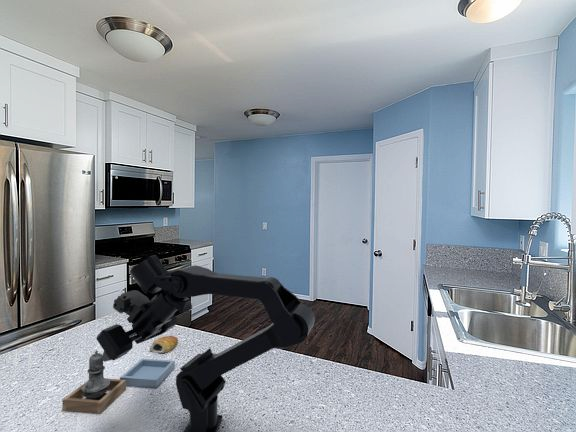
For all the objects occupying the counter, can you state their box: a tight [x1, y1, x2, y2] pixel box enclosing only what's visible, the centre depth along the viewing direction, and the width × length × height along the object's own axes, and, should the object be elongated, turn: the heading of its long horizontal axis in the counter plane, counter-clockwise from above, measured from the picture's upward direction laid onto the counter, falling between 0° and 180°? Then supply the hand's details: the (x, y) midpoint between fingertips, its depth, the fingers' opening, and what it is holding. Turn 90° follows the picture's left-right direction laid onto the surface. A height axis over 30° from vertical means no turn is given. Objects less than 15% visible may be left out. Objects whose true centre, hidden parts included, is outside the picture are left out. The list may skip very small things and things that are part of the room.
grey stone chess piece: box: [81, 350, 110, 400], centre depth 73 cm, size 6×6×12 cm
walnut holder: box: [61, 377, 127, 415], centre depth 73 cm, size 9×9×2 cm
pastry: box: [149, 335, 179, 354], centre depth 101 cm, size 9×7×4 cm
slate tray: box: [119, 358, 176, 389], centre depth 83 cm, size 10×10×2 cm
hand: (120, 350), depth 71 cm, fingers open, 9 cm apart
